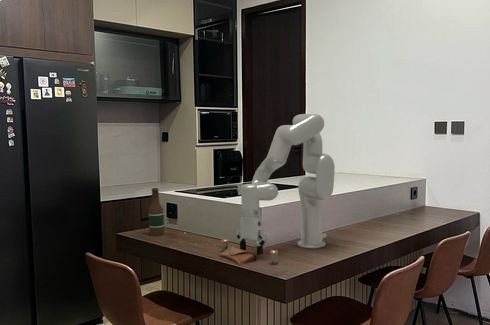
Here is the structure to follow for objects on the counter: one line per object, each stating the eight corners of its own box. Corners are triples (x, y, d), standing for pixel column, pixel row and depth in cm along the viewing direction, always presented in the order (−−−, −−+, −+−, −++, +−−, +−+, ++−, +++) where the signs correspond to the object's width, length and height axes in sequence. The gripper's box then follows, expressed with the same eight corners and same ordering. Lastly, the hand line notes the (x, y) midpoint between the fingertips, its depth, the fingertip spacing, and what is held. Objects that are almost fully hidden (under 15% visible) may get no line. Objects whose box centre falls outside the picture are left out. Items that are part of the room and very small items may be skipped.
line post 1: (225, 249, 215) (224, 238, 215) (230, 251, 213) (229, 239, 213) (220, 251, 213) (219, 240, 212) (225, 252, 211) (224, 241, 210)
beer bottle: (146, 234, 247) (144, 188, 245) (159, 231, 252) (157, 186, 250) (154, 237, 241) (152, 189, 239) (167, 234, 247) (165, 188, 244)
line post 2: (273, 261, 196) (273, 249, 196) (279, 263, 194) (279, 250, 193) (268, 263, 194) (268, 251, 193) (274, 265, 192) (274, 252, 191)
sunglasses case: (216, 255, 207) (222, 241, 208) (227, 260, 211) (233, 246, 212) (240, 265, 192) (247, 249, 194) (252, 270, 196) (259, 255, 198)
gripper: (271, 214, 200) (272, 254, 202) (241, 209, 212) (242, 247, 213) (260, 217, 194) (260, 258, 196) (229, 212, 206) (230, 251, 208)
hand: (251, 252), depth 205 cm, fingers open, 9 cm apart
